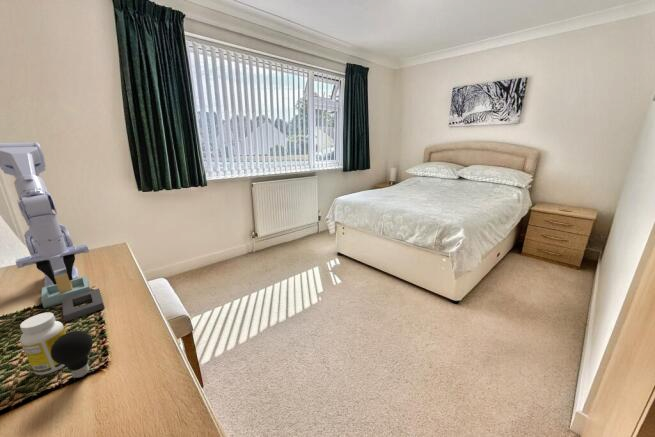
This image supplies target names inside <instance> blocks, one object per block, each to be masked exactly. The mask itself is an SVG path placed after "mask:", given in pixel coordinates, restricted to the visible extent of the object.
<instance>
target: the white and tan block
mask: <svg viewBox="0 0 655 437" xmlns="http://www.w3.org/2000/svg"><path fill="white" fill-rule="evenodd" d="M54 277H55V280H56V283H57V286H58V289H59V291H60V294H61V293H64V292H68V291H71V290H73V287H72V284H71V281H70V280H69V278H68V273H67V269H66V268H63V269H59V270H55V271H54Z"/></svg>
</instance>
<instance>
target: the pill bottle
mask: <svg viewBox="0 0 655 437" xmlns="http://www.w3.org/2000/svg"><path fill="white" fill-rule="evenodd" d="M19 328H20V331H21V332H22V335H21V336H20V339H19V343H20V345H21V347H22V349H23V351H24V354H25V356H26V359H27V360H28V363H29V366H30V368H31V369H32V372H33V373H34V374H35V375H38V376H39V375H40V376H43V375H48V374H52V373H53V372H54V373H55V372H58V371H59V370H60V369H63V368H64V367H66V366H65V365H63V364H59V363H57V362H55V361H54V360H53V359H52V357H51V348H52V345H53V344H54V342H55V341H56V340H57V339H58V338H59V337H60V336H62V335H64V334H66V333H67V332H66V329H65V326H64V324H63V323H62V322H60V321H58V320H56V317H55V315H54V313H53V312H49V311H48V312H42V313H39V314H36V315H33V316H31V317H28V318H26V319H25V320H24V321H22V322H21V323H20V325H19Z"/></svg>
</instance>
